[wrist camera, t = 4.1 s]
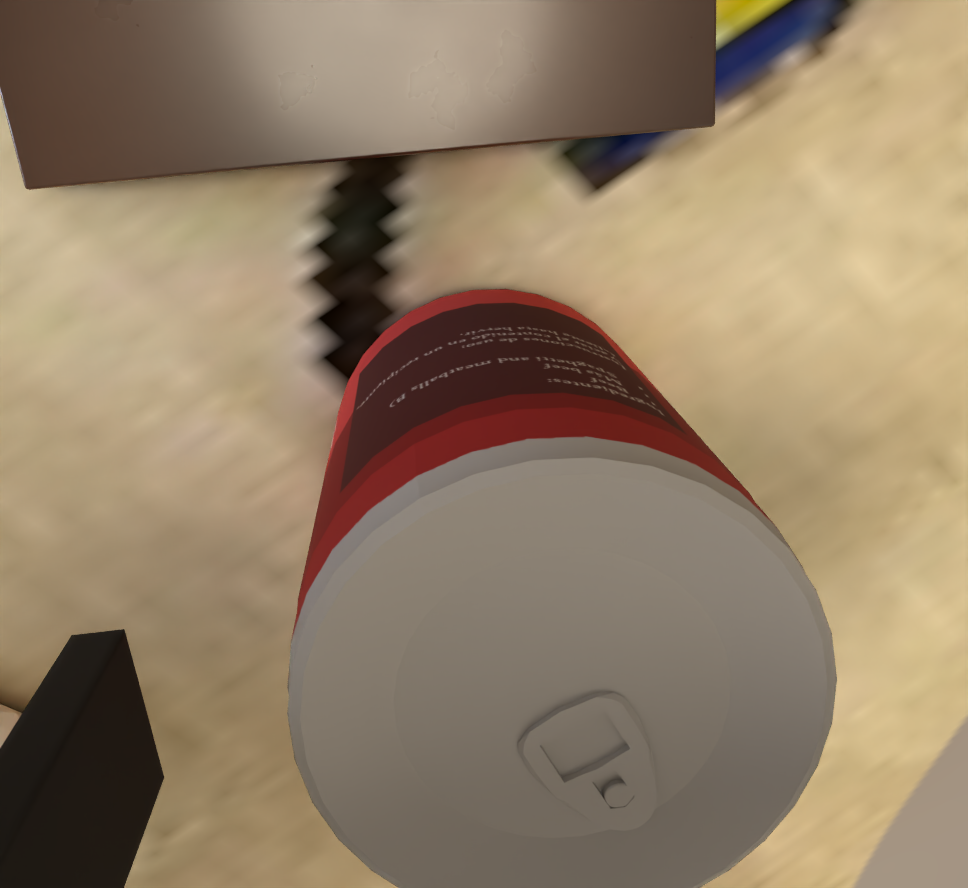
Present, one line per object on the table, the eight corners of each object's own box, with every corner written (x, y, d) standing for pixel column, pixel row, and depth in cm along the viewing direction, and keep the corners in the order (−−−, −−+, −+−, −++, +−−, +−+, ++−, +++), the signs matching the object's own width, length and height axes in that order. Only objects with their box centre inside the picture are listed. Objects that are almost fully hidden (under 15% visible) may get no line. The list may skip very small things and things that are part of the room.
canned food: (498, 626, 24) (568, 1007, 14) (268, 441, 22) (153, 741, 12) (709, 433, 23) (956, 705, 13) (487, 211, 20) (572, 326, 10)
